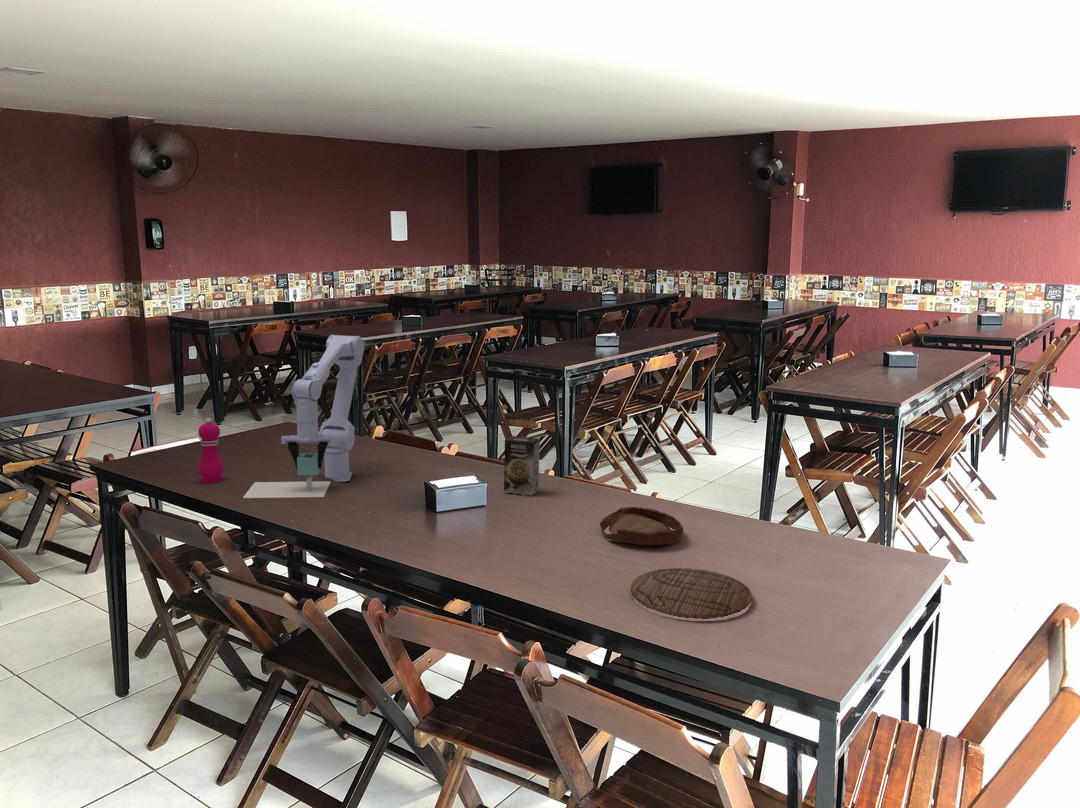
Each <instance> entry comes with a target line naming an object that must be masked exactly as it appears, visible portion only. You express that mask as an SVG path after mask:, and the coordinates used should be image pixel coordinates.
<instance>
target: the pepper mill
mask: <svg viewBox="0 0 1080 808" xmlns="http://www.w3.org/2000/svg"><path fill="white" fill-rule="evenodd" d="M197 431H198V433H197V434H198V437H199V438H201V439H200V445H201V446H202V455H201V458H200V461H199V464H198V468H197V472H198V474H199V475H200V477H201V478H200V479H199V480H200V482H201V483H203V484H204V483H205V484H214V483H220V482H222V481H223V479H224V478H223V476H222V475H223V473H224V472H225V466H224V463H223V461H222V459H221V457H220V455H219V450H218V445H219V444H220V442H219V437H220V434H221V429H220V427H219V425H217V424H216V423H214V422H213V419H212V418H210V417H207V418H206V419H205V423H203V424H201V425H200V426H199V428H198V429H197Z"/></svg>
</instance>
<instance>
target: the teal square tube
mask: <svg viewBox="0 0 1080 808" xmlns="http://www.w3.org/2000/svg"><path fill="white" fill-rule="evenodd" d="M296 470H297V471H296V472H297V476H318V475H319V474H320V472H321V469H318V452H313V453H311V452H309V453H303V452H301V453H300V452H299V456H298V457H297V469H296Z"/></svg>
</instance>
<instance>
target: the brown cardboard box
mask: <svg viewBox="0 0 1080 808" xmlns="http://www.w3.org/2000/svg"><path fill="white" fill-rule="evenodd" d="M540 445H541V438H537V437H536V438H535V437H527V436H519V435H518V436H517V435H511V436H509V437H507V438H505V439H504V459H503V460H504V462H503V463H504V464H503V465H504V466H503V469H504V470H503V472H504V473H503V474H504V475H503V494H507V493H514V494H513V495H516V494H525V495H533V494H535V493H536V492H537V491H538V490H539V479H540ZM539 491H540V490H539ZM539 491H538V492H539ZM538 492H537V493H538ZM537 493H536V494H537ZM536 494H535V495H536ZM525 495H524V496H525ZM533 496H534V495H533Z"/></svg>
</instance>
